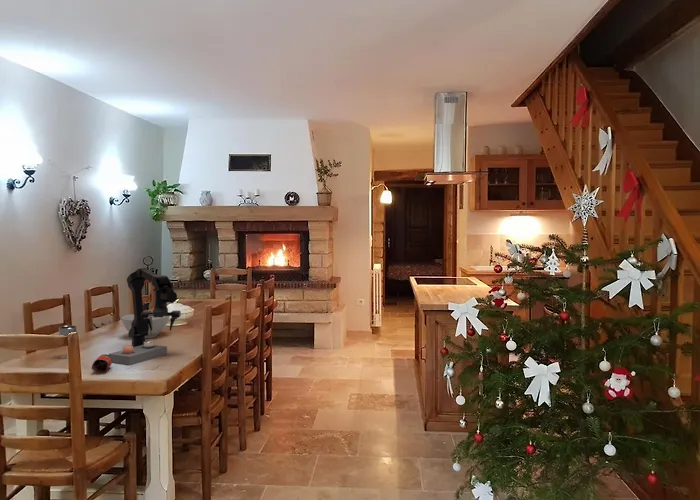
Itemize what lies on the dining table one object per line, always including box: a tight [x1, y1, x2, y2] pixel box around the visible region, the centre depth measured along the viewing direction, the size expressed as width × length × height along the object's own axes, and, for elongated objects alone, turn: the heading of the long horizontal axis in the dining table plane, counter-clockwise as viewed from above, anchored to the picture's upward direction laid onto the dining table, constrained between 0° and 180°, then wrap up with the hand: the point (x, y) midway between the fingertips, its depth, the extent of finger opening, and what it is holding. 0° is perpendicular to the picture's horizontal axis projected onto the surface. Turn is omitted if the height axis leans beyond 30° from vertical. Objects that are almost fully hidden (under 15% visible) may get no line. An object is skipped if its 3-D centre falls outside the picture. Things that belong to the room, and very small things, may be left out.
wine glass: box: [58, 325, 78, 359], centre depth 268 cm, size 8×8×15 cm
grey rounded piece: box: [144, 340, 154, 349], centre depth 272 cm, size 4×4×4 cm
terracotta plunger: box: [122, 345, 133, 354], centre depth 260 cm, size 4×4×4 cm
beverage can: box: [91, 354, 113, 375], centre depth 243 cm, size 7×12×7 cm, turn 14°
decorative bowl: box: [121, 313, 171, 339], centre depth 318 cm, size 27×27×12 cm
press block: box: [108, 344, 168, 366], centre depth 266 cm, size 14×24×4 cm, turn 155°
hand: (161, 330), depth 274 cm, fingers open, 9 cm apart
